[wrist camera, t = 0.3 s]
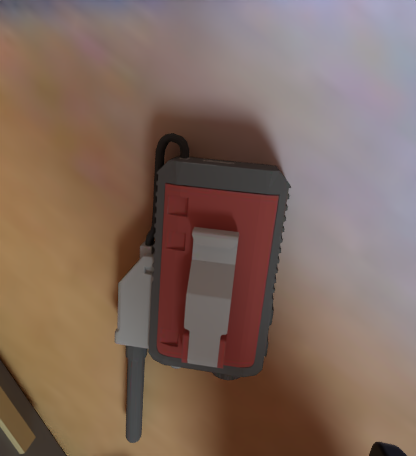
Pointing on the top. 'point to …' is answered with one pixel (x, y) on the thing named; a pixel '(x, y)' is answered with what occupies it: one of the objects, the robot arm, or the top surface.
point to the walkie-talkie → (203, 271)
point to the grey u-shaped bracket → (22, 423)
